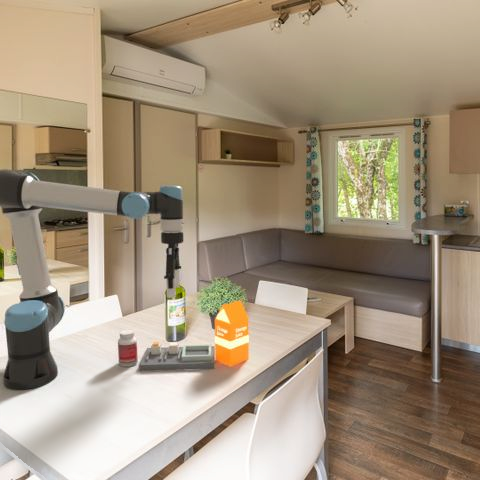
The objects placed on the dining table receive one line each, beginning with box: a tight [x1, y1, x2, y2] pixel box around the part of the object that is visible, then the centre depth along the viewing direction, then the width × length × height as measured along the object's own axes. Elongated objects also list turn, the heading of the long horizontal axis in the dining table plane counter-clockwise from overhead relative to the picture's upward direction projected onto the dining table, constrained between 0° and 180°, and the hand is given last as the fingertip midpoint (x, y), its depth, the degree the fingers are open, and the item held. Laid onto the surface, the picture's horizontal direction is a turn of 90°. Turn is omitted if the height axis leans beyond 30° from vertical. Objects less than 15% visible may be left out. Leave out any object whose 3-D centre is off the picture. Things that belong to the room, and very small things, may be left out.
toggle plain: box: [168, 341, 180, 354], centre depth 146 cm, size 3×3×3 cm
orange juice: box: [214, 299, 250, 367], centre depth 144 cm, size 8×9×20 cm
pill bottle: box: [117, 329, 139, 368], centre depth 142 cm, size 6×6×11 cm
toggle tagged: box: [150, 341, 162, 355], centre depth 146 cm, size 3×3×3 cm
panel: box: [139, 344, 216, 372], centre depth 144 cm, size 24×14×4 cm, turn 93°
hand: (173, 292), depth 147 cm, fingers open, 13 cm apart
